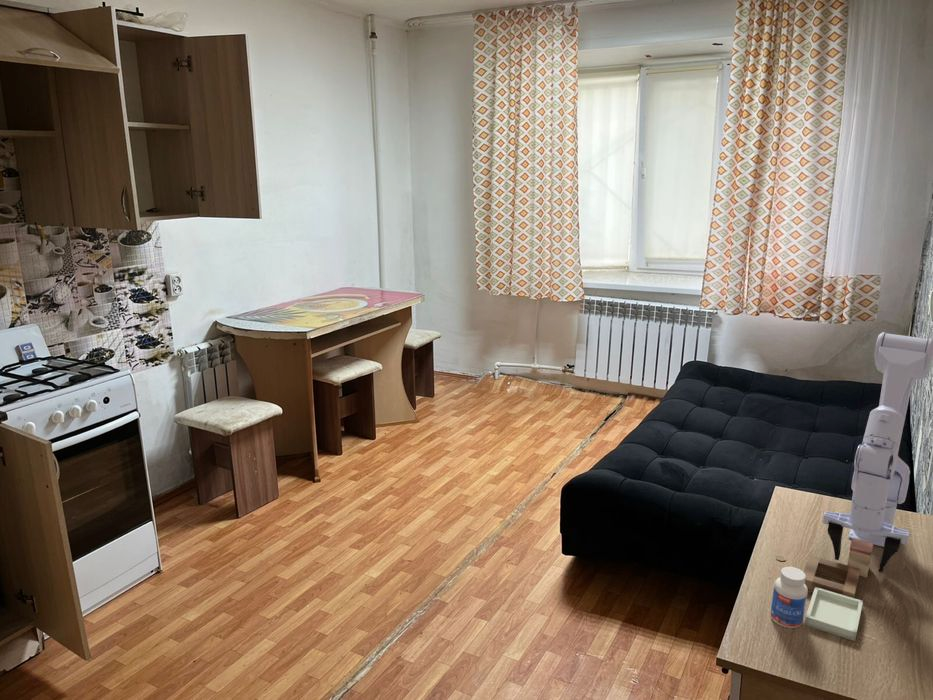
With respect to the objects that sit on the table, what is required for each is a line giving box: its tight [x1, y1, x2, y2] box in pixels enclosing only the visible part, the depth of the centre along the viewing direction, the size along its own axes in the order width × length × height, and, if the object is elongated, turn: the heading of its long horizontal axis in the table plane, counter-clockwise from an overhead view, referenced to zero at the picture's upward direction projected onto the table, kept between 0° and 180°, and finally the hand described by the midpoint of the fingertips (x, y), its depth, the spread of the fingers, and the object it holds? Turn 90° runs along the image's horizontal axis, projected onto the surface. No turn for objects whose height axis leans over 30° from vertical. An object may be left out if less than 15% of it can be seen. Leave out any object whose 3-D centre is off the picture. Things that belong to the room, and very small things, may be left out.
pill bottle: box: [770, 566, 809, 629], centre depth 126 cm, size 6×5×10 cm
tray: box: [804, 587, 864, 642], centre depth 127 cm, size 10×8×2 cm
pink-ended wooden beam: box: [847, 539, 874, 578], centre depth 140 cm, size 4×4×6 cm
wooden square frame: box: [803, 554, 860, 599], centre depth 136 cm, size 9×9×2 cm
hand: (858, 563), depth 140 cm, fingers open, 7 cm apart
